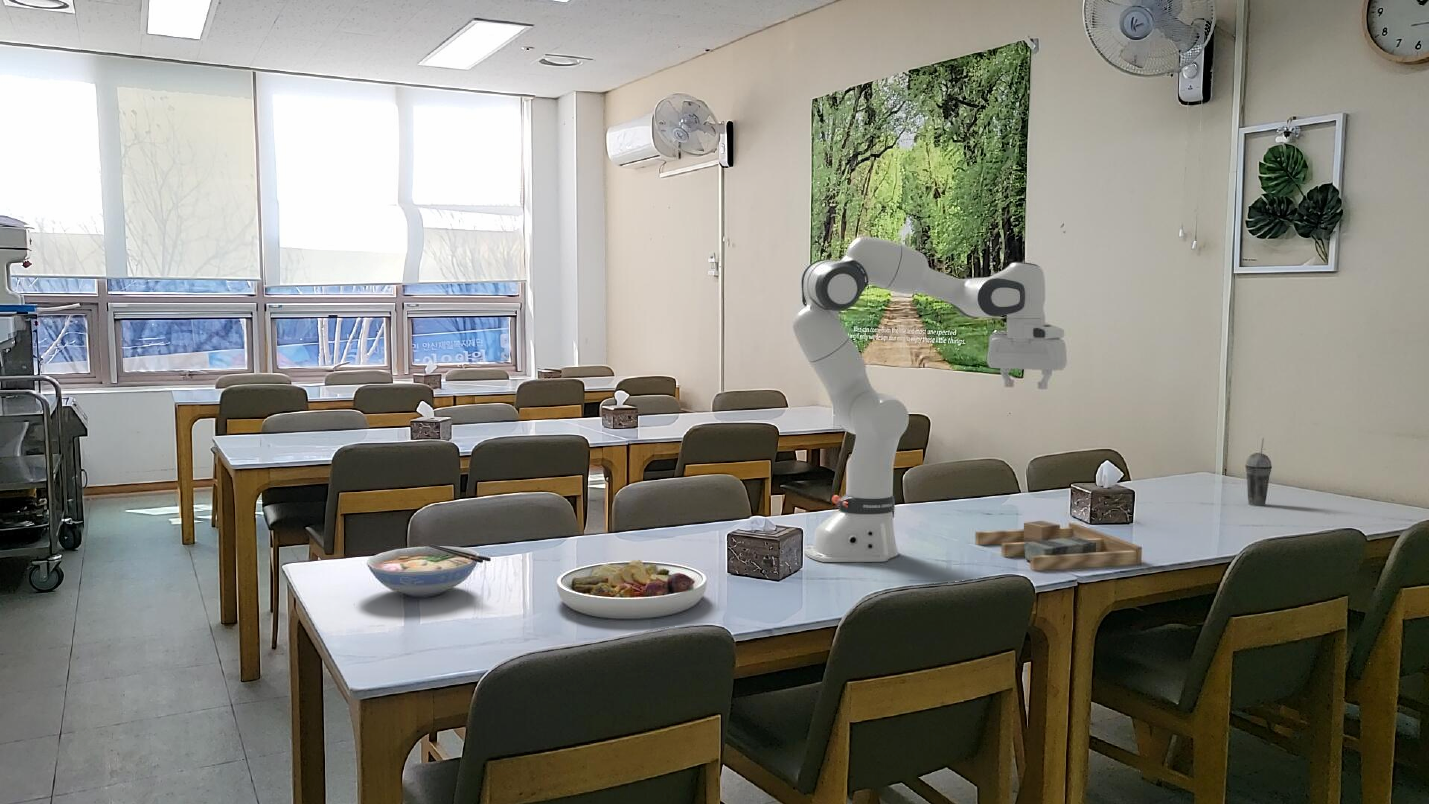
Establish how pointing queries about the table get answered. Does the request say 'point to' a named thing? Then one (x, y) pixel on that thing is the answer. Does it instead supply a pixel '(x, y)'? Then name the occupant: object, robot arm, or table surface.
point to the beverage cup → (1258, 477)
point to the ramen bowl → (424, 568)
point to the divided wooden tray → (1106, 554)
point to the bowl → (631, 589)
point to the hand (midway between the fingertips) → (1025, 388)
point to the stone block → (1059, 547)
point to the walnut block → (1041, 531)
